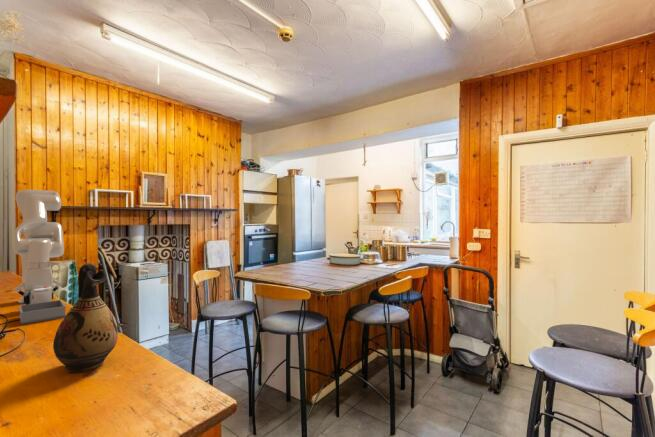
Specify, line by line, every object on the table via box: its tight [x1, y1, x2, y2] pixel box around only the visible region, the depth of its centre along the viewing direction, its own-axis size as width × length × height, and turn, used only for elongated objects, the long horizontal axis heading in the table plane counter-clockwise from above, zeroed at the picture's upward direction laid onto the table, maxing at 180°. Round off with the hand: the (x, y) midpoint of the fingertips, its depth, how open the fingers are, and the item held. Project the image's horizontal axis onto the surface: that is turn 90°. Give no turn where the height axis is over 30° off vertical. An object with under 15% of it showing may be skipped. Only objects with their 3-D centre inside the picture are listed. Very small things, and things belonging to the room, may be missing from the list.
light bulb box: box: [27, 287, 53, 304], centre depth 151 cm, size 11×7×11 cm, turn 60°
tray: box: [18, 299, 66, 326], centre depth 140 cm, size 15×14×5 cm
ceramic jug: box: [52, 262, 119, 374], centre depth 95 cm, size 17×15×30 cm
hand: (38, 302), depth 151 cm, fingers closed on light bulb box, 7 cm apart
